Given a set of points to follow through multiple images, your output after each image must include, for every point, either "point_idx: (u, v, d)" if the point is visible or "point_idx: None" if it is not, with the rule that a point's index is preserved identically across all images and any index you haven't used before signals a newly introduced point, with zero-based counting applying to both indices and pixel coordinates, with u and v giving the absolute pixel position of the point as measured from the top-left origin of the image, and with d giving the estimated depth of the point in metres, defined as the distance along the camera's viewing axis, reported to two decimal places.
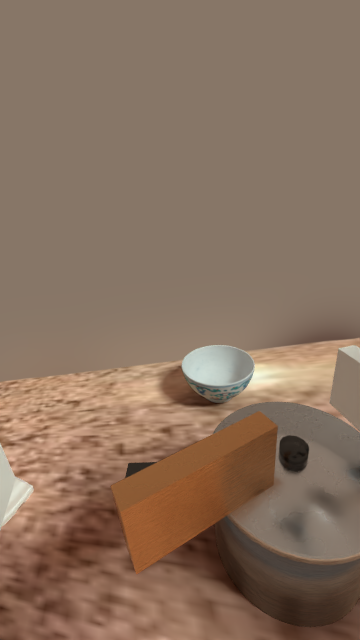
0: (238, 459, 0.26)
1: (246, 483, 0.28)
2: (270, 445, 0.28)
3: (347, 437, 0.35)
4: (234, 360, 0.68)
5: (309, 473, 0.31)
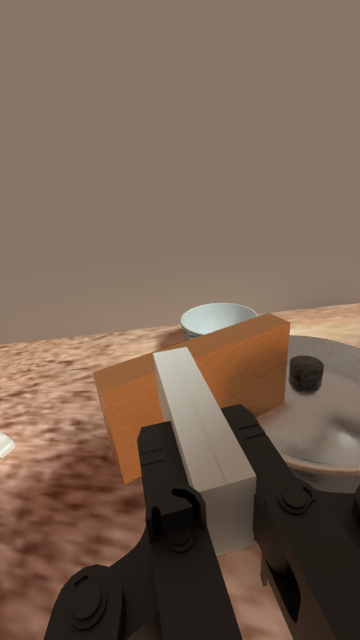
0: (244, 356, 0.22)
1: (253, 392, 0.24)
2: (281, 347, 0.24)
3: None
4: (237, 318, 0.64)
5: (324, 392, 0.28)
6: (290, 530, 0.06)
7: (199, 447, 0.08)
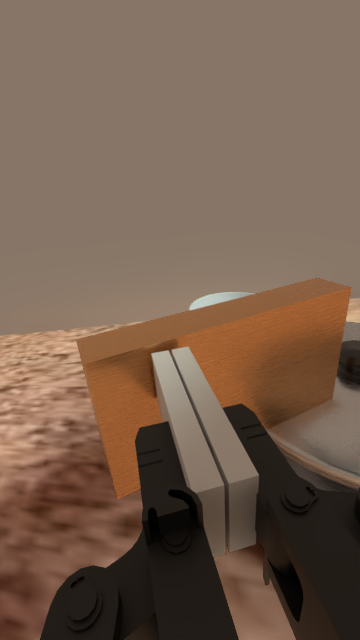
0: (288, 329, 0.16)
1: (295, 381, 0.18)
2: (335, 322, 0.18)
3: None
4: None
5: None
6: (293, 529, 0.06)
7: (196, 447, 0.08)
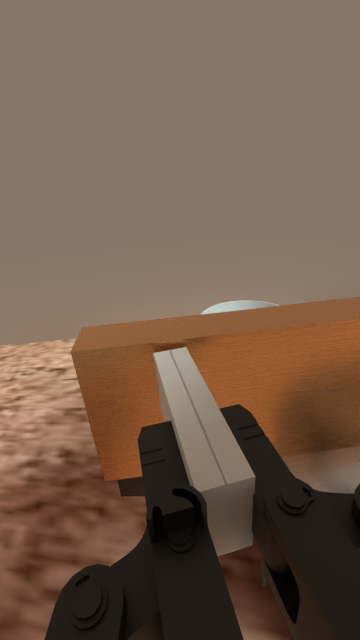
0: (307, 352, 0.14)
1: (317, 413, 0.15)
2: None
3: None
4: None
5: None
6: (289, 530, 0.06)
7: (200, 447, 0.08)
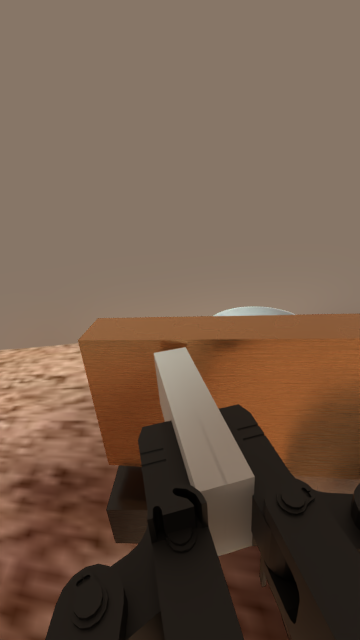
0: (318, 368, 0.13)
1: (330, 436, 0.14)
2: None
3: None
4: None
5: None
6: (289, 531, 0.06)
7: (200, 447, 0.08)
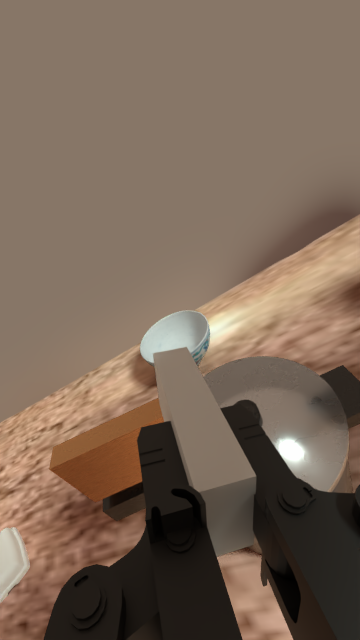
0: None
1: None
2: None
3: (319, 401, 0.31)
4: (191, 322, 0.66)
5: None
6: (291, 530, 0.06)
7: (199, 447, 0.08)
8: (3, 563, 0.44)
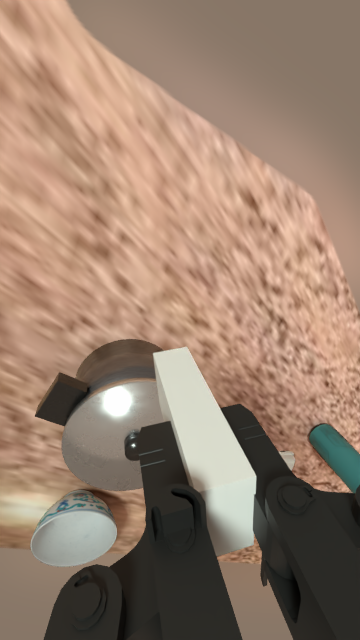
0: None
1: None
2: None
3: (89, 416, 0.38)
4: (42, 538, 0.56)
5: None
6: (290, 530, 0.06)
7: (199, 447, 0.08)
8: None
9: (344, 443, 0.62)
